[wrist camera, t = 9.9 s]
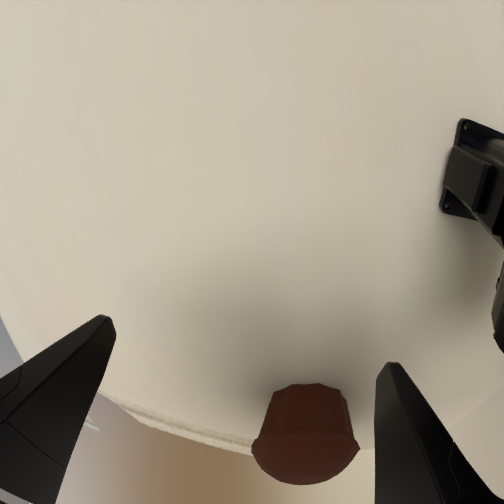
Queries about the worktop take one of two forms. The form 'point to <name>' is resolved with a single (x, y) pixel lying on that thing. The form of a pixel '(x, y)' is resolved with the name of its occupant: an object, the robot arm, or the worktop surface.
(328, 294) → the worktop surface
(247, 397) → the worktop surface
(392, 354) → the worktop surface
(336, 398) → the muffin
